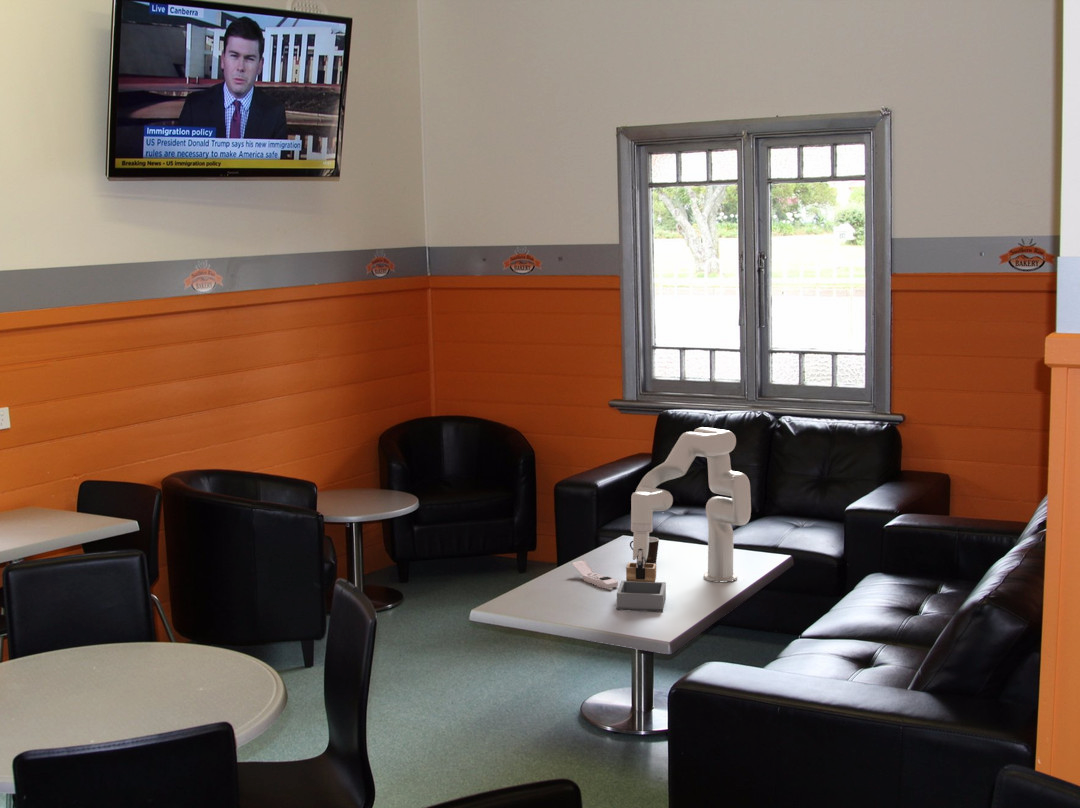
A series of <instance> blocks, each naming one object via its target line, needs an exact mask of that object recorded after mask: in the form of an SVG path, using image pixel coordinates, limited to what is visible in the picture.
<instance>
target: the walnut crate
mask: <svg viewBox="0 0 1080 808" xmlns="http://www.w3.org/2000/svg"><path fill="white" fill-rule="evenodd" d="M636 563H637V562H629V561H628V562H627V565H626V567H625V569H626V573H625V574H626V575H625V576H626V577H625V578H626V580H625V581H629V582H651V583H655V582H656V579H657V563H656V564H654V563H645V564H644V568H645V579H636Z"/></svg>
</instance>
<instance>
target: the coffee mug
mask: <svg viewBox="0 0 1080 808" xmlns="http://www.w3.org/2000/svg"><path fill="white" fill-rule="evenodd" d="M659 541H660V539H659V538H658V537H655V536H649V550H648V556H647V559H646V562H647V563H654V564H656V565H657V558H658V551H659ZM629 547H630V548H631V549H630V550H632V551H633V540H631V541H630V542H629Z"/></svg>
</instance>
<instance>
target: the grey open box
mask: <svg viewBox="0 0 1080 808" xmlns="http://www.w3.org/2000/svg"><path fill="white" fill-rule="evenodd" d="M666 586H667V583H666V581H665V582H664V581H655V583H651V582H629V581H626V580H620V583H619V585H618V589H617V592H616V610H617V611H628V610H630V611H631V612H650V613H651V612H655V613H664V608H665V603H666V597H667V595H666V594H667V593H666V591H667V587H666ZM630 611H629V612H630Z"/></svg>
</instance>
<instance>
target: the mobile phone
mask: <svg viewBox="0 0 1080 808" xmlns="http://www.w3.org/2000/svg"><path fill="white" fill-rule="evenodd" d="M572 565H573V566H574V567H575V569H576V570H577V571H578V573H579V574H580V575H581V576H582V578H583V581H584V582H586V581H587V582H586V583H588V582H589V583H588V584H590V583H592V584H591V585H593V584H594V585H593V586H595V585H597V586H596V587H598V586H599V588H601V587H602V588H601V589H603V588H605V590H607V591H611V592H613V591H614V589H613V588H616V587H618V588H619V582H618V580H617V579H614V578H612V577H610V576H605V575H604V574H603V575H602V574H599V573H596V572H595V571H593V569H592V568H591V567H590V566H589V565H588V563H587V561H585V560H578V561H574V562H572Z"/></svg>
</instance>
